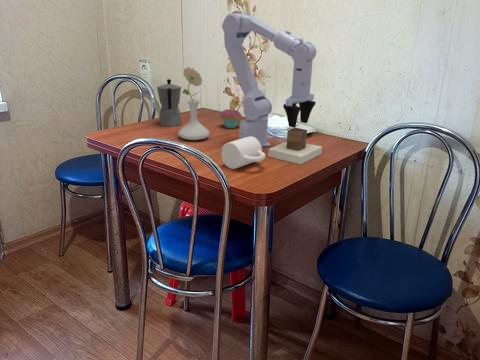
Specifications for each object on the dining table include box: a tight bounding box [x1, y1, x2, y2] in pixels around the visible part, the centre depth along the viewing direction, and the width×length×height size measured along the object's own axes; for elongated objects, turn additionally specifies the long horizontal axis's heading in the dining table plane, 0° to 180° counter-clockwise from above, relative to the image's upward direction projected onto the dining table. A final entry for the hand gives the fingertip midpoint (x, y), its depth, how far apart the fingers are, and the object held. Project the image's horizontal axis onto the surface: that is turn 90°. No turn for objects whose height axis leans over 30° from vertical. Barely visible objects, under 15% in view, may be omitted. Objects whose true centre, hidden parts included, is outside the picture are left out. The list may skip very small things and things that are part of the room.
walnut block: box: [286, 127, 308, 151], centre depth 137 cm, size 5×5×6 cm
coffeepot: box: [156, 78, 183, 128], centre depth 168 cm, size 15×9×18 cm, turn 9°
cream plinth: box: [267, 141, 323, 166], centre depth 138 cm, size 14×12×2 cm
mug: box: [220, 136, 266, 170], centre depth 126 cm, size 12×10×8 cm
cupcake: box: [219, 99, 242, 129], centre depth 169 cm, size 9×8×12 cm
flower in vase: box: [177, 66, 211, 141], centre depth 150 cm, size 13×11×25 cm
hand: (298, 124), depth 139 cm, fingers open, 7 cm apart
